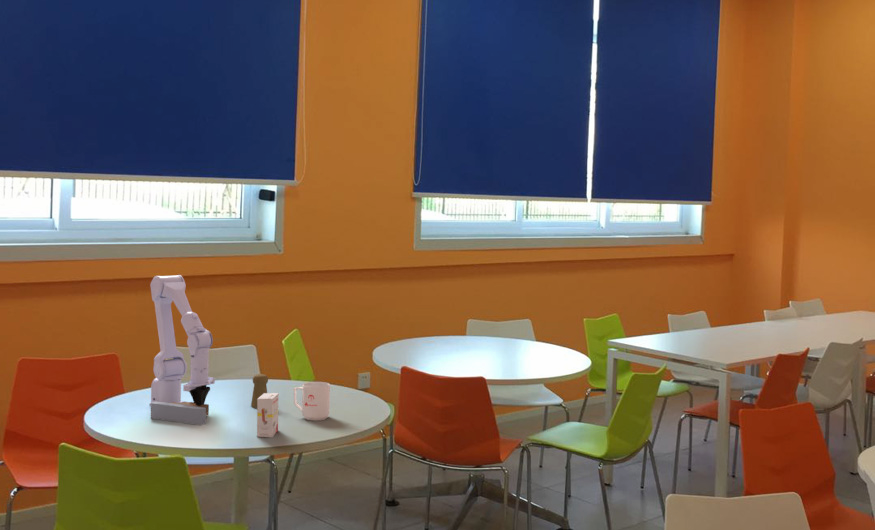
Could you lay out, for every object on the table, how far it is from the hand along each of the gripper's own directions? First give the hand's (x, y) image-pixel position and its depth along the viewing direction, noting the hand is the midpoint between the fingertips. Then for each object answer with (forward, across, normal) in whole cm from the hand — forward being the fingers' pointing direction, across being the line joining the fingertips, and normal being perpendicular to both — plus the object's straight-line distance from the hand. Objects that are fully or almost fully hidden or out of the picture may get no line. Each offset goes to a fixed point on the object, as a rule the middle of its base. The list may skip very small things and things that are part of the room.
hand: (199, 409), depth 295 cm
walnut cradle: (+2, -6, 0) cm, 6 cm away
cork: (+2, +18, -12) cm, 22 cm away
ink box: (+2, -12, -33) cm, 35 cm away
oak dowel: (+2, -6, 0) cm, 6 cm away
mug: (+2, +12, -35) cm, 37 cm away
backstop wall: (+2, -11, 0) cm, 11 cm away
